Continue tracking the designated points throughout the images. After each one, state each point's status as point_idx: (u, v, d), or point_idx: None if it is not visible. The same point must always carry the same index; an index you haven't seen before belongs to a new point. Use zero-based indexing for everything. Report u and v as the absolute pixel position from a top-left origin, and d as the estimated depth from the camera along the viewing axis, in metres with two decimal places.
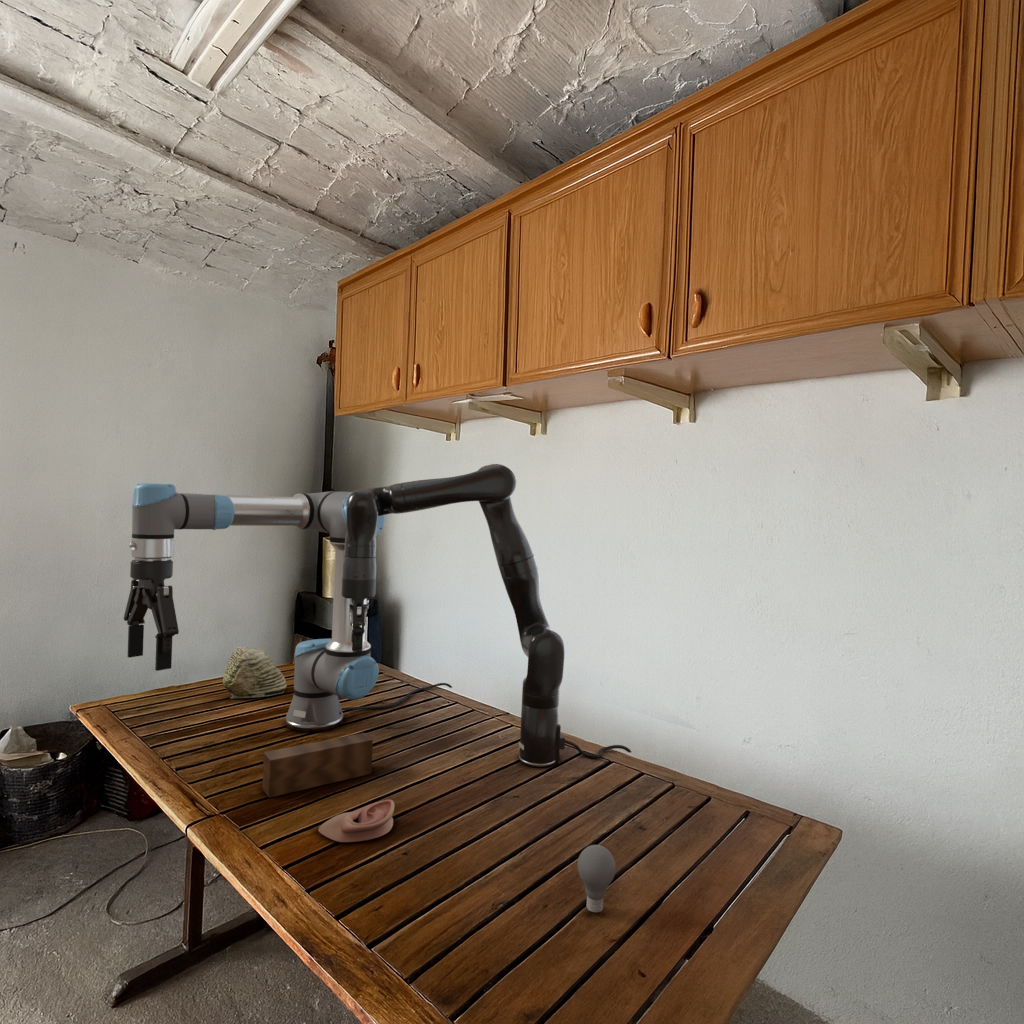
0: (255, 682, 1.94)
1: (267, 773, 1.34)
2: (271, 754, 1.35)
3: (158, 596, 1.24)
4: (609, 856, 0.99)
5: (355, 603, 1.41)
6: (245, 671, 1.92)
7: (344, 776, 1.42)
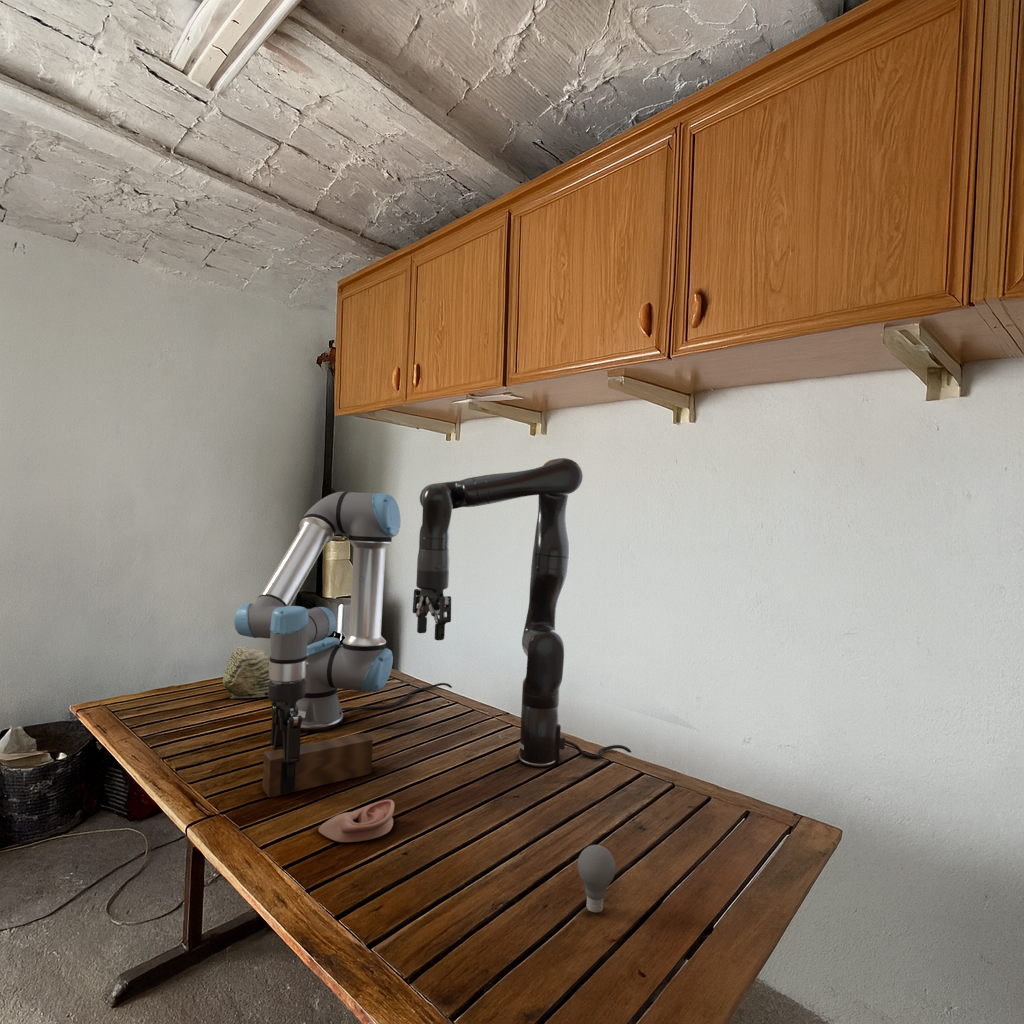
0: (255, 682, 1.94)
1: (267, 773, 1.34)
2: (271, 754, 1.35)
3: None
4: (609, 856, 0.99)
5: (437, 594, 1.46)
6: (245, 671, 1.92)
7: (344, 776, 1.42)
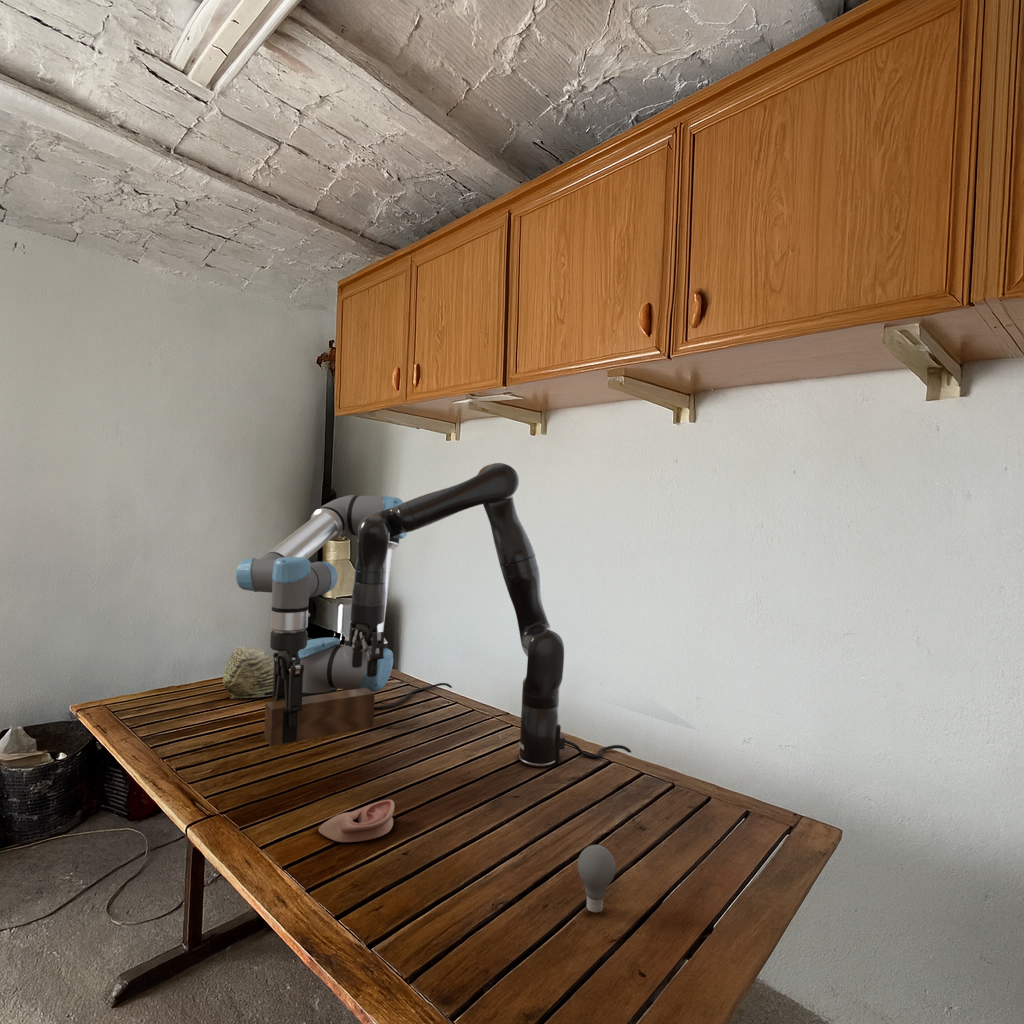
0: (255, 682, 1.94)
1: (269, 722, 1.33)
2: (273, 704, 1.35)
3: None
4: (609, 856, 0.99)
5: (370, 629, 1.42)
6: (245, 671, 1.92)
7: (346, 728, 1.42)
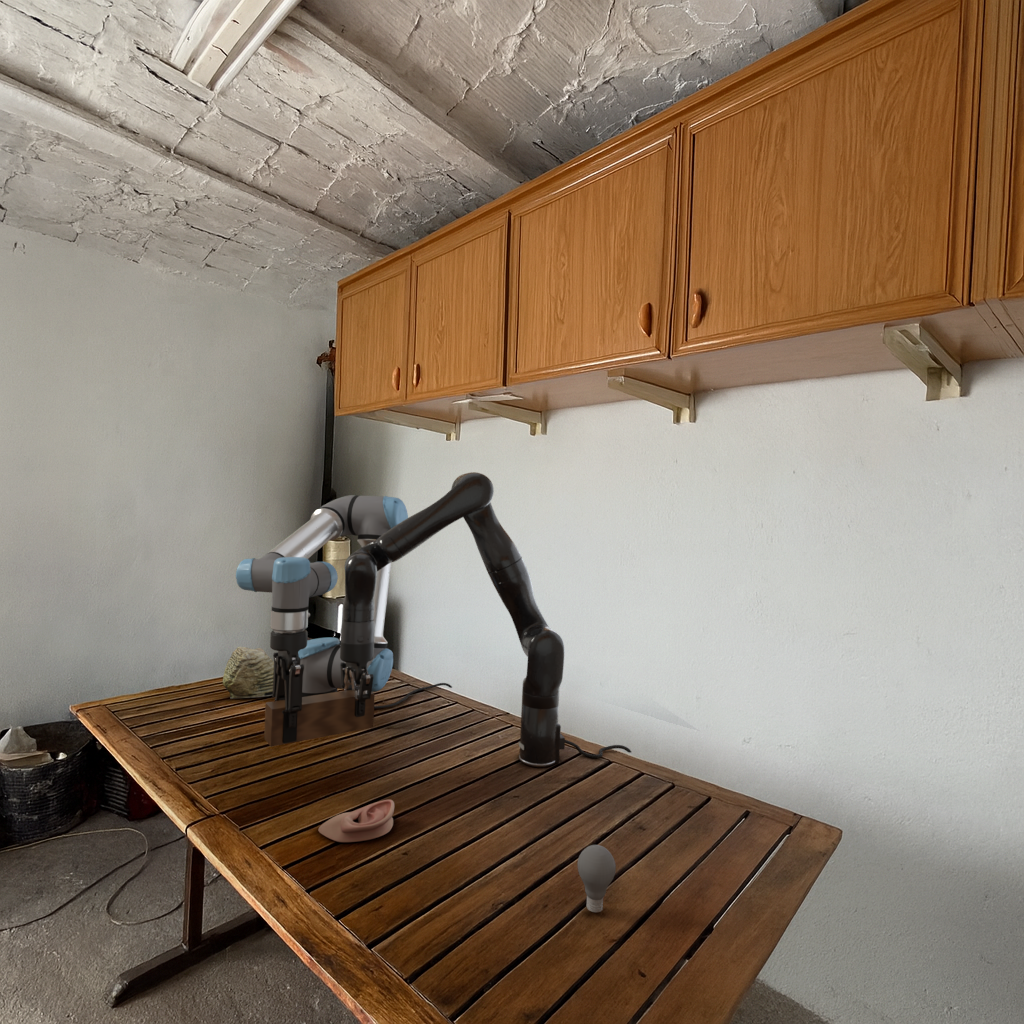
0: (255, 682, 1.94)
1: (269, 723, 1.33)
2: (273, 704, 1.35)
3: None
4: (609, 856, 0.99)
5: (360, 667, 1.42)
6: (245, 671, 1.92)
7: (346, 728, 1.42)
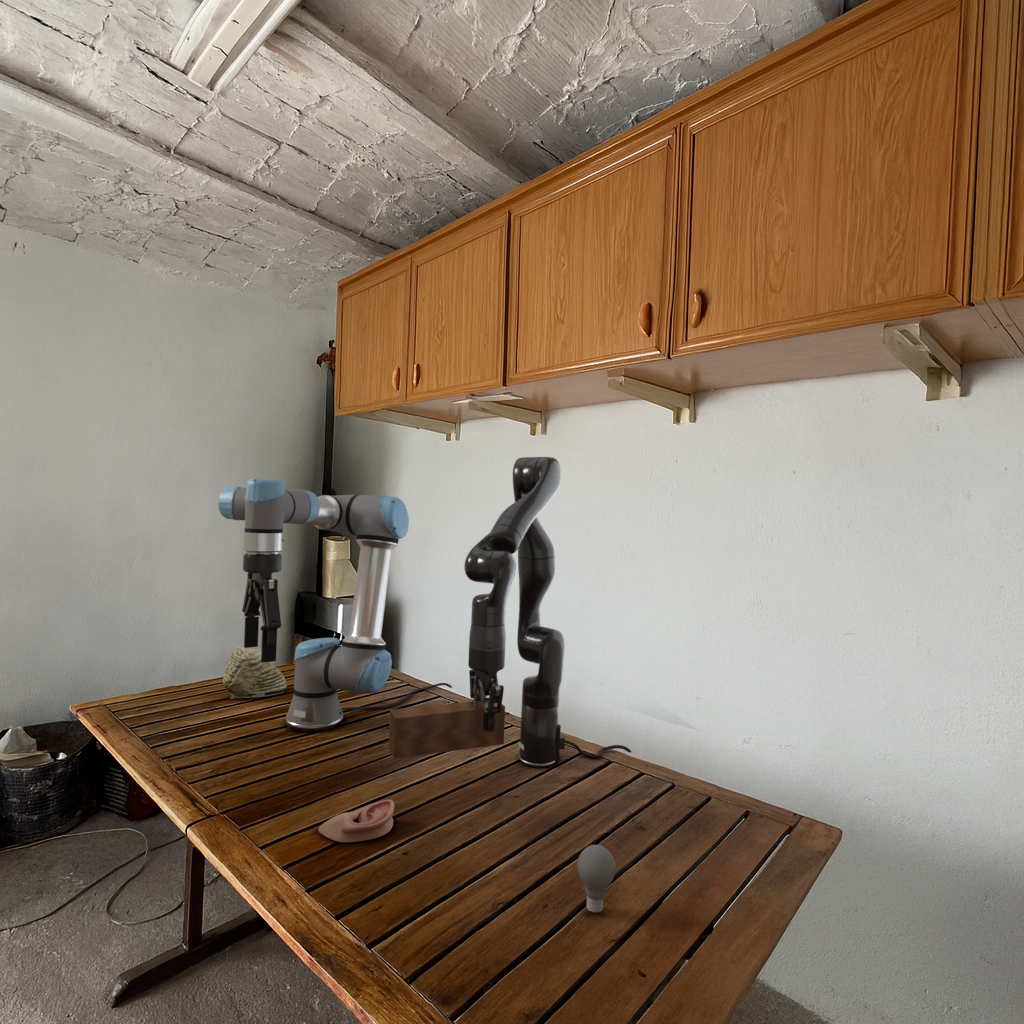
0: (255, 682, 1.94)
1: (393, 732, 1.23)
2: (397, 712, 1.25)
3: None
4: (609, 856, 0.99)
5: (489, 677, 1.28)
6: (245, 671, 1.92)
7: (474, 744, 1.28)
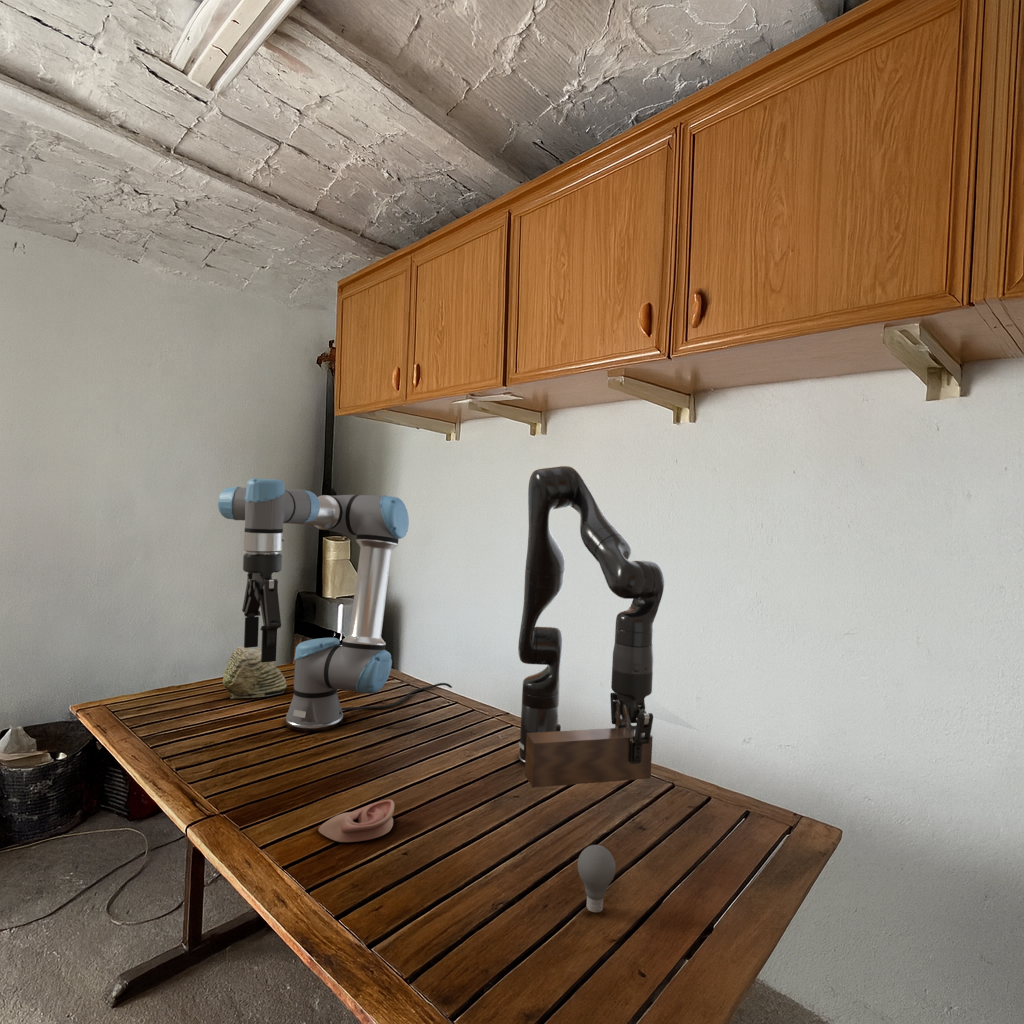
0: (255, 682, 1.94)
1: (530, 758, 1.13)
2: (535, 736, 1.15)
3: None
4: (609, 856, 0.99)
5: (636, 703, 1.15)
6: (245, 671, 1.92)
7: (618, 776, 1.16)
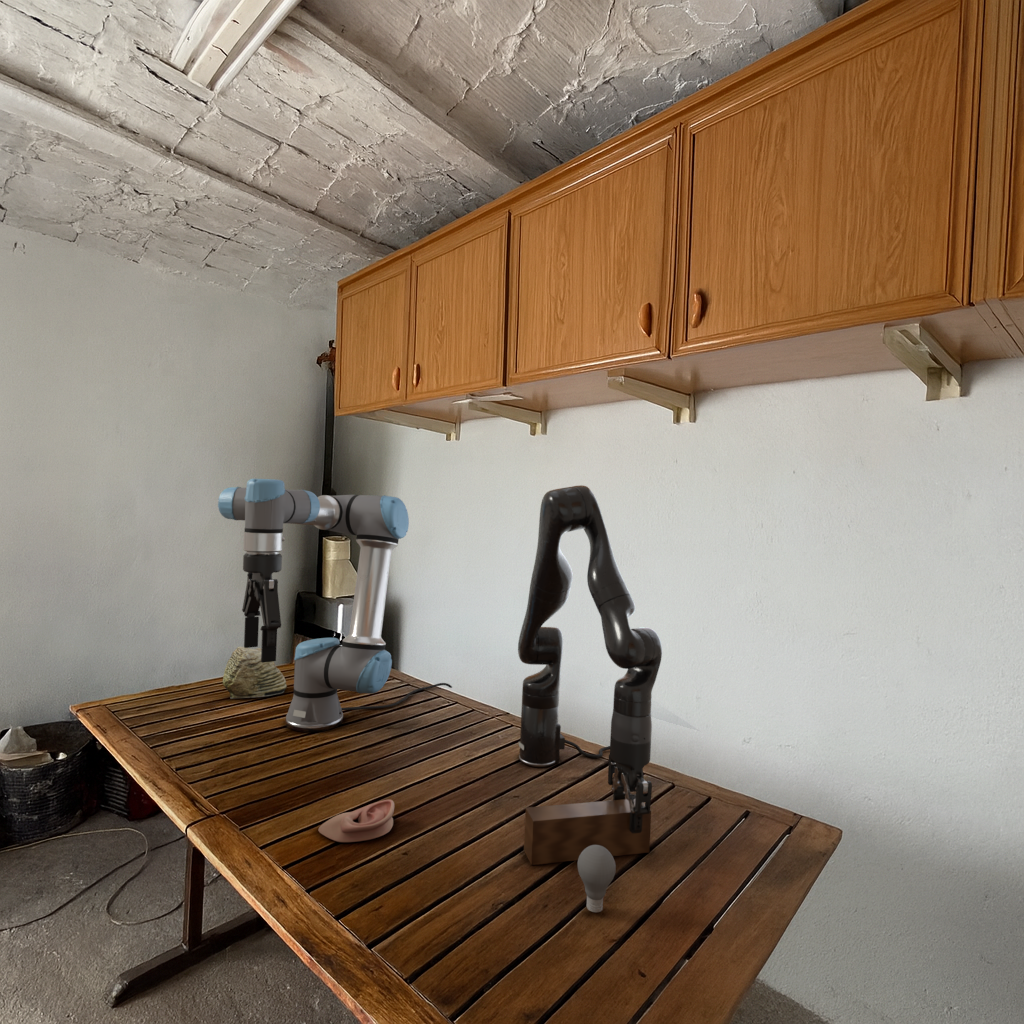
0: (255, 682, 1.94)
1: (529, 835, 1.13)
2: (534, 812, 1.15)
3: None
4: (609, 856, 0.99)
5: (634, 773, 1.15)
6: (245, 671, 1.92)
7: (617, 851, 1.16)
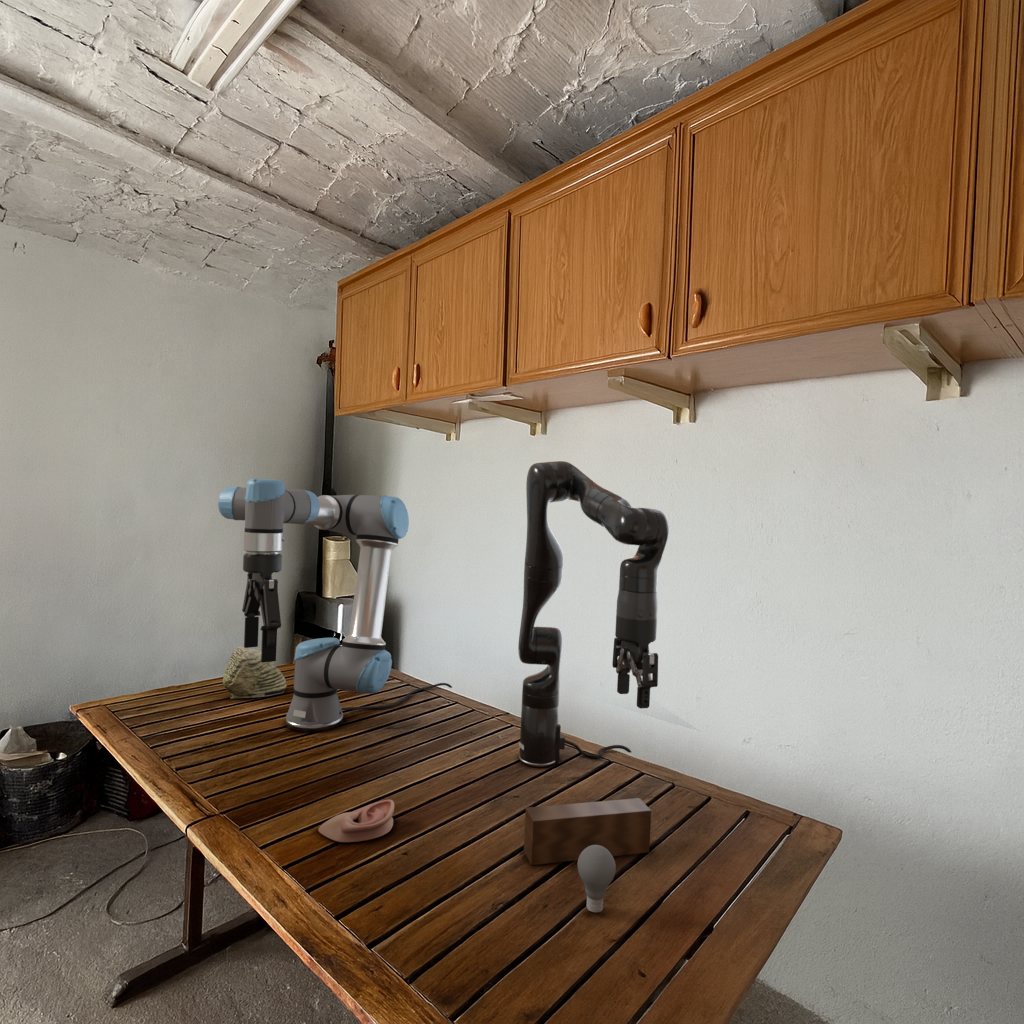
0: (255, 682, 1.94)
1: (529, 835, 1.13)
2: (534, 812, 1.15)
3: None
4: (609, 856, 0.99)
5: (640, 648, 1.15)
6: (245, 671, 1.92)
7: (617, 851, 1.16)
